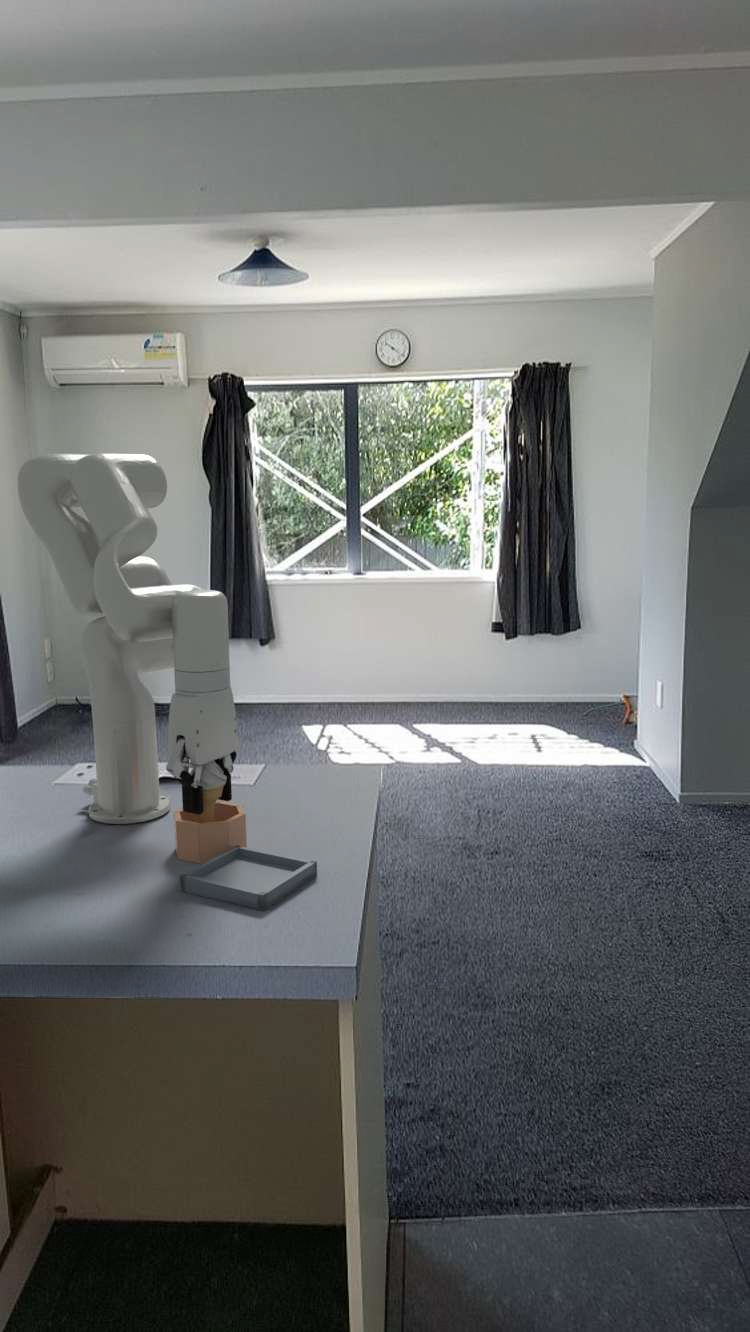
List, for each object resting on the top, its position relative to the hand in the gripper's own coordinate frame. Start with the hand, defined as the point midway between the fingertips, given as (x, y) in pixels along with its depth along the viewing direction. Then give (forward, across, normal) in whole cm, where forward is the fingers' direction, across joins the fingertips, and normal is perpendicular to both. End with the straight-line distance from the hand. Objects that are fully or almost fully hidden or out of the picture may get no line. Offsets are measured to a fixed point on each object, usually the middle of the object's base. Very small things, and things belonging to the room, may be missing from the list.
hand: (207, 804), depth 135 cm
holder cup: (+7, 0, 0) cm, 7 cm away
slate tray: (+6, +7, +12) cm, 16 cm away
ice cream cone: (+7, 0, 0) cm, 7 cm away
